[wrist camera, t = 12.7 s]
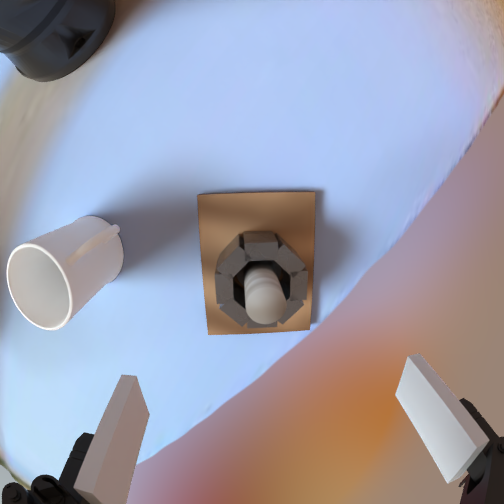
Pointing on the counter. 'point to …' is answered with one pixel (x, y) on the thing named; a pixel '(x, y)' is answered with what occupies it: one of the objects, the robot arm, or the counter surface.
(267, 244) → the ring
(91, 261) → the mug
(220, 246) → the post block
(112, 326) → the counter surface
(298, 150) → the counter surface
